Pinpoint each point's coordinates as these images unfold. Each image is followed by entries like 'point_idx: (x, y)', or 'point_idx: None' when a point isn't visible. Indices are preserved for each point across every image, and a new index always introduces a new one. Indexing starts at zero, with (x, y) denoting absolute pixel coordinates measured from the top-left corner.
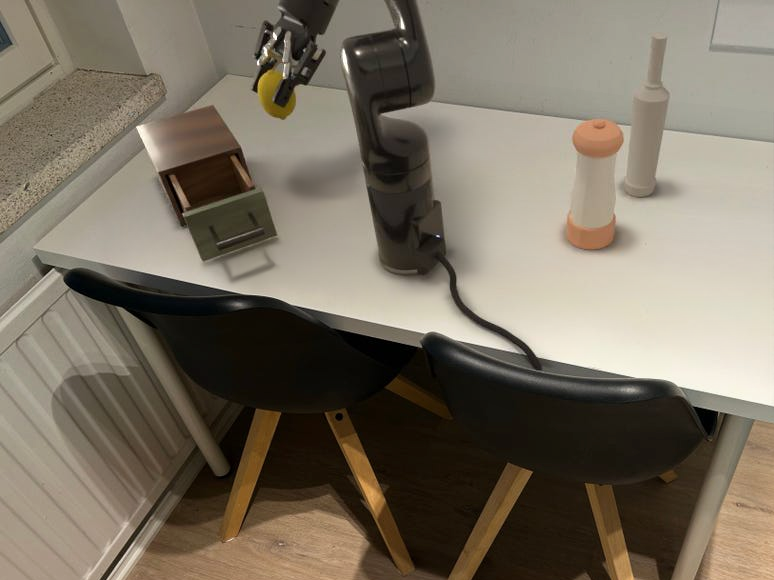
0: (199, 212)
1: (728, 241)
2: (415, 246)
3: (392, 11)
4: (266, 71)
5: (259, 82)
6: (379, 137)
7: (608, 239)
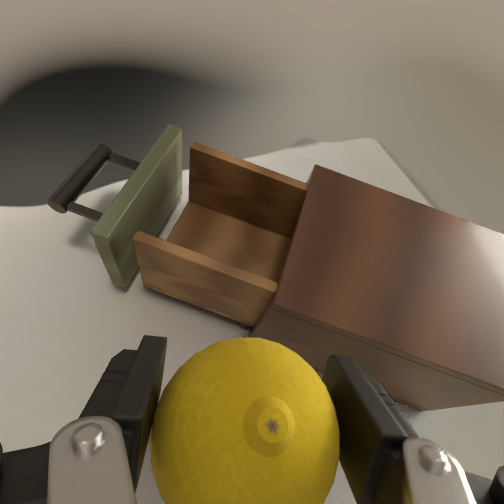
0: (157, 141)
1: None
2: None
3: None
4: (368, 467)
5: (283, 350)
6: None
7: None
